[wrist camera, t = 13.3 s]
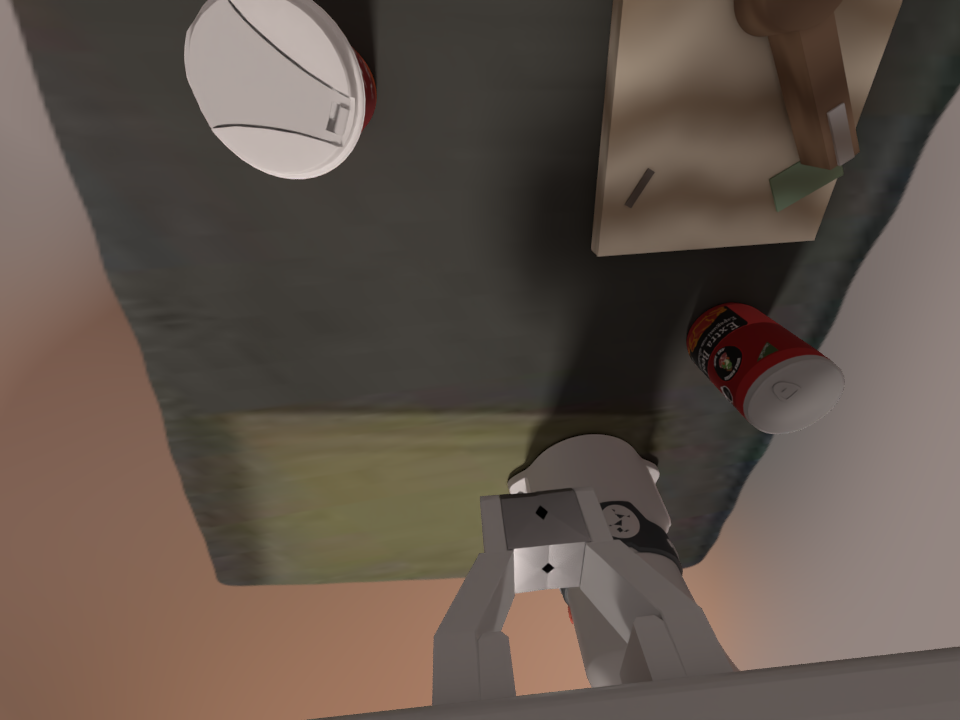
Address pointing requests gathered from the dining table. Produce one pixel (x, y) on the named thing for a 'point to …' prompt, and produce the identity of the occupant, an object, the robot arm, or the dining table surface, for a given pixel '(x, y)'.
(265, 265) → the dining table surface
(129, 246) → the dining table surface
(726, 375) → the canned food
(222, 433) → the dining table surface
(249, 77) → the paper cup
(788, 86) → the wooden spoon
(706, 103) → the cream flat square slab
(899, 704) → the robot arm
